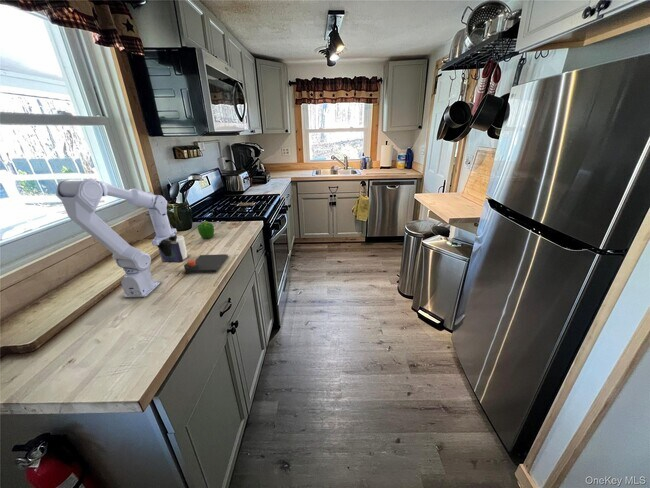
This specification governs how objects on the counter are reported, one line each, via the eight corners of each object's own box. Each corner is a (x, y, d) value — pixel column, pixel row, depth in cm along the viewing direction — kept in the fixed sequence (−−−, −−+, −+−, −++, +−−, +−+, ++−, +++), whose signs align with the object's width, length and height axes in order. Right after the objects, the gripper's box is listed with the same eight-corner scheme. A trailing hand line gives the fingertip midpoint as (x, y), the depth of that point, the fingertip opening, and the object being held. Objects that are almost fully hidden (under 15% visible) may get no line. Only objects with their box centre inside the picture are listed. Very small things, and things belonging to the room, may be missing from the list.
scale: (215, 272, 110) (214, 266, 108) (183, 273, 110) (181, 267, 109) (228, 256, 124) (226, 251, 123) (199, 257, 124) (197, 252, 123)
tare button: (193, 266, 110) (192, 262, 109) (186, 266, 110) (185, 263, 109) (196, 263, 113) (195, 259, 112) (190, 263, 113) (189, 259, 112)
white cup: (181, 262, 120) (175, 242, 116) (166, 261, 122) (160, 241, 118) (192, 254, 127) (187, 236, 123) (178, 253, 129) (173, 235, 125)
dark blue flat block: (160, 262, 111) (154, 239, 107) (165, 259, 113) (159, 236, 109) (181, 263, 110) (175, 239, 106) (185, 260, 113) (179, 237, 109)
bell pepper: (198, 237, 149) (194, 220, 145) (213, 233, 154) (209, 217, 150) (202, 241, 143) (198, 224, 139) (217, 237, 147) (213, 221, 143)
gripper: (160, 230, 98) (170, 261, 104) (180, 218, 112) (187, 247, 117) (142, 230, 98) (152, 262, 104) (163, 219, 112) (172, 247, 117)
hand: (170, 254), depth 110 cm, fingers closed on dark blue flat block, 3 cm apart
